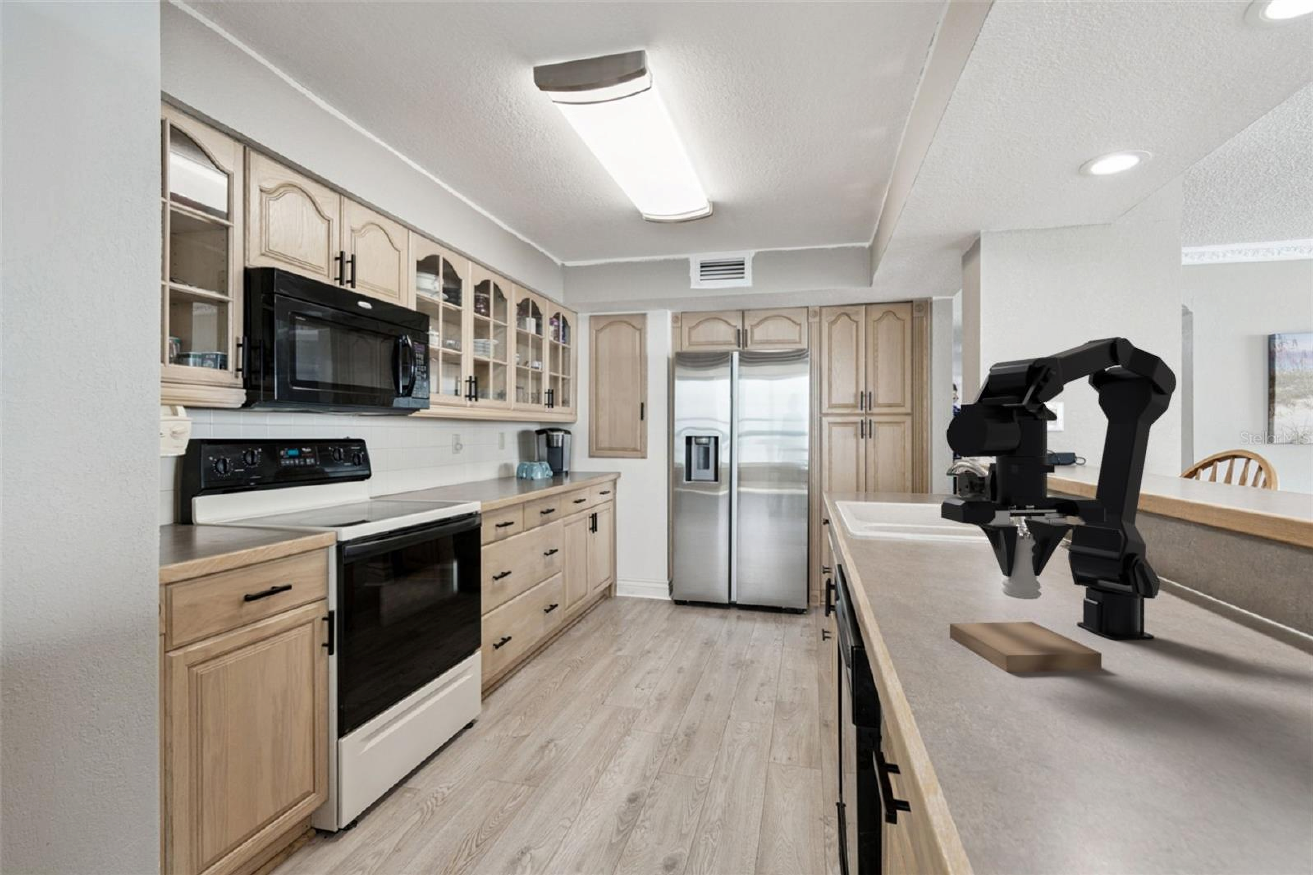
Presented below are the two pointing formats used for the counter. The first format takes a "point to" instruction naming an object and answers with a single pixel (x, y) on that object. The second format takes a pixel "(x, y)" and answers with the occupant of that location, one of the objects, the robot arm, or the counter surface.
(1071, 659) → the walnut block
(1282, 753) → the counter surface
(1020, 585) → the rook chess piece
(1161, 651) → the counter surface
